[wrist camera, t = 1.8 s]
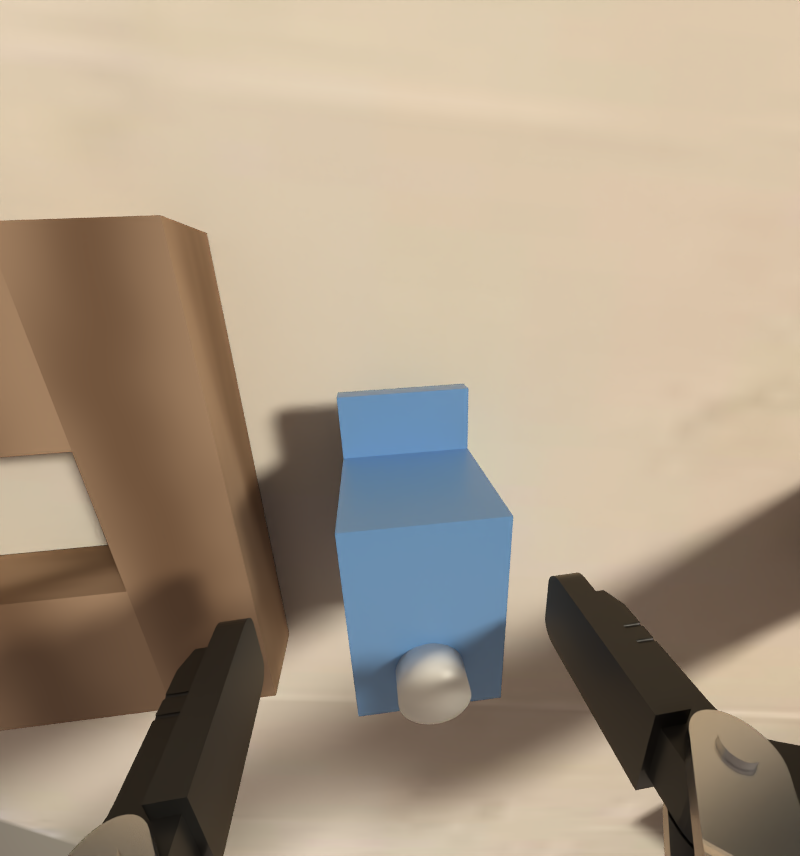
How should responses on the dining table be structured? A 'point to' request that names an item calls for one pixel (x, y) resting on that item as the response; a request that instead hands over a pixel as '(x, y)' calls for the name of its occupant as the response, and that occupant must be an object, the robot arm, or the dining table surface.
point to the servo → (420, 554)
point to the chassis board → (126, 468)
